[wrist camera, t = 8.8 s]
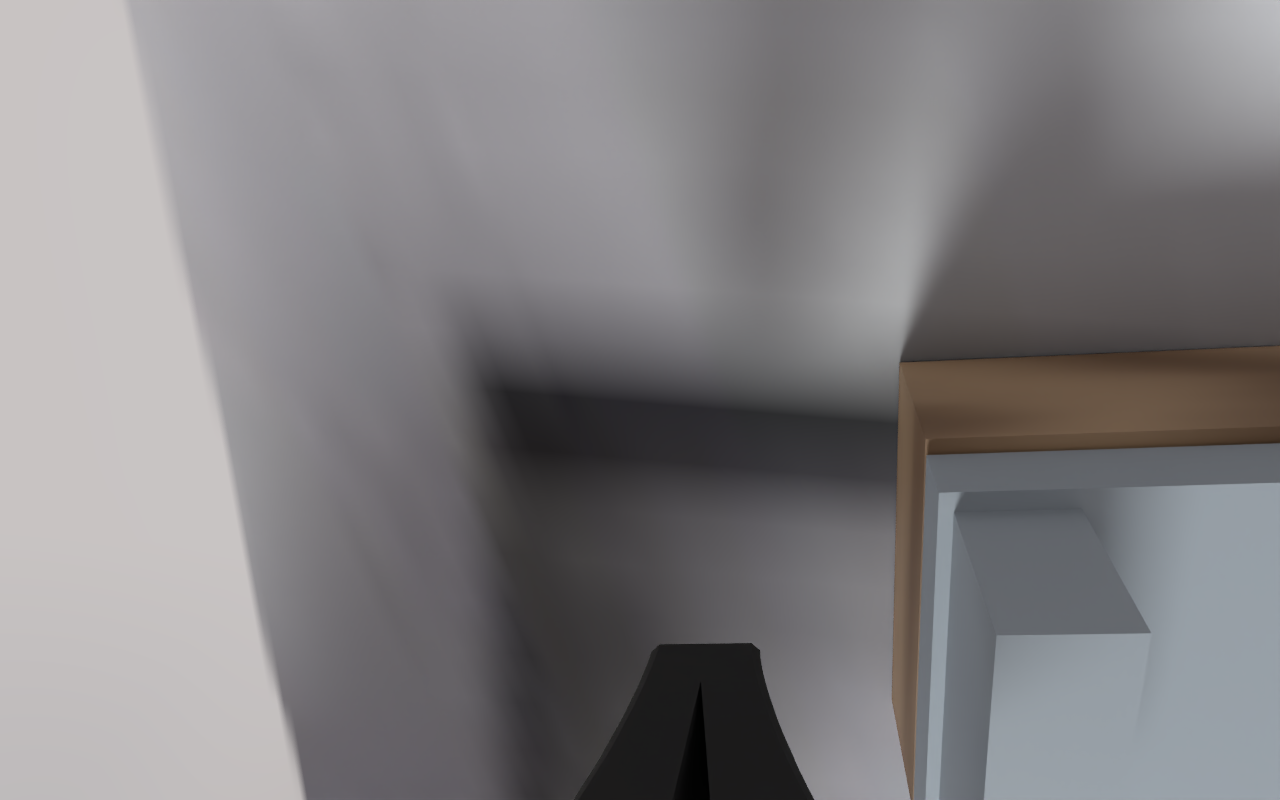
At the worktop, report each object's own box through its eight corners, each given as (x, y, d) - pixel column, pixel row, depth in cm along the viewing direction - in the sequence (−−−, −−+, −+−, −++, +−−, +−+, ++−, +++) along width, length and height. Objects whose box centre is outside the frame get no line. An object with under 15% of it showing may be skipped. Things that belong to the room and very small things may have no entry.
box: (891, 699, 20) (911, 807, 17) (899, 362, 17) (925, 439, 14) (1464, 695, 18) (1568, 811, 16) (1584, 332, 15) (1736, 410, 13)
